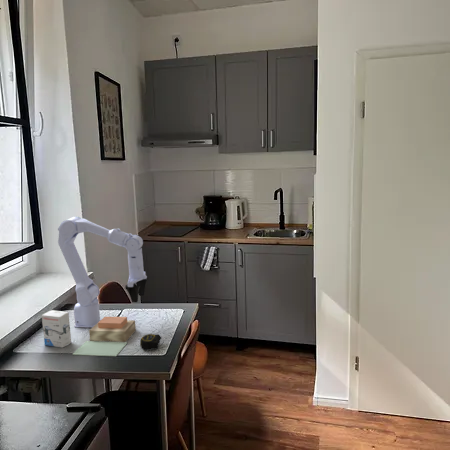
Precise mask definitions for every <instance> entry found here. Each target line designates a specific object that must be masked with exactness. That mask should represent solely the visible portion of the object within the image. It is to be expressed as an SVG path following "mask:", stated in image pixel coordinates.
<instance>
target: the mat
mask: <svg viewBox="0 0 450 450" xmlns="http://www.w3.org/2000/svg"><path fill="white" fill-rule="evenodd" d="M127 344H128V342H127V341H126V342H117V341H90V340H86V341H84V342H83V343H82V345H80V346H79V347H78V349H76V350H75V351H74V352H73V353H72V356H93V357H94V356H95V357H96V356H97V357H98V356H99V357H117V356H118V355H119V353H121V351H122V350H123V349H124V348H125V347H126V345H127Z"/></svg>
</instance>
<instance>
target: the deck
mask: <svg viewBox="0 0 450 450" xmlns="http://www.w3.org/2000/svg"><path fill="white" fill-rule="evenodd" d="M100 321H101V320H100ZM136 326H137V325H136V320H135V319H134V320H132V319H131V320H129V319H127V323H126V324H125V325H124V326H123V327H122V328H98V323H97V324H96V325H95V326H94V327H90V329H89V330H88V334H89V341H100V342H127V341H128V340H129V339H130V338H131V337H132V335H133V334H134V333H135V332H136V331H137V327H136Z"/></svg>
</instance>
